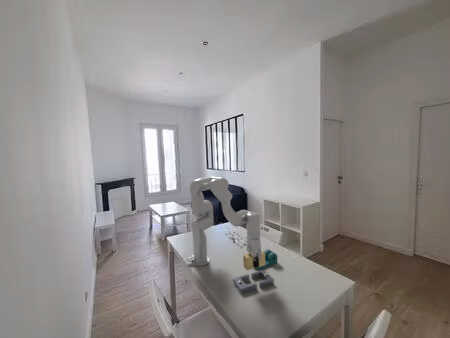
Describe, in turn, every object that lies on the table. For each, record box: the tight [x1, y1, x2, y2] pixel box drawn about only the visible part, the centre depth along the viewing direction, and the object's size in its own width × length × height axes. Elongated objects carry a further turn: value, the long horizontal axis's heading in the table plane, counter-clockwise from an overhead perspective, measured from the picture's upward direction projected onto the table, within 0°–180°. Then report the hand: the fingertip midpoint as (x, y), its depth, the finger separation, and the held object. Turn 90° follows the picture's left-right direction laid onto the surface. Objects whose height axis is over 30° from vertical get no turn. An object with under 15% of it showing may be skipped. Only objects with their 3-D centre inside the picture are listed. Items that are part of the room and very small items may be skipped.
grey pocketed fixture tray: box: [232, 269, 275, 295], centre depth 120 cm, size 21×10×4 cm, turn 111°
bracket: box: [253, 248, 278, 271], centre depth 139 cm, size 18×7×8 cm, turn 120°
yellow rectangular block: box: [242, 250, 265, 271], centre depth 119 cm, size 12×4×7 cm, turn 111°
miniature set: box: [223, 228, 247, 247], centre depth 183 cm, size 6×35×12 cm
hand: (254, 264), depth 119 cm, fingers closed on yellow rectangular block, 4 cm apart
